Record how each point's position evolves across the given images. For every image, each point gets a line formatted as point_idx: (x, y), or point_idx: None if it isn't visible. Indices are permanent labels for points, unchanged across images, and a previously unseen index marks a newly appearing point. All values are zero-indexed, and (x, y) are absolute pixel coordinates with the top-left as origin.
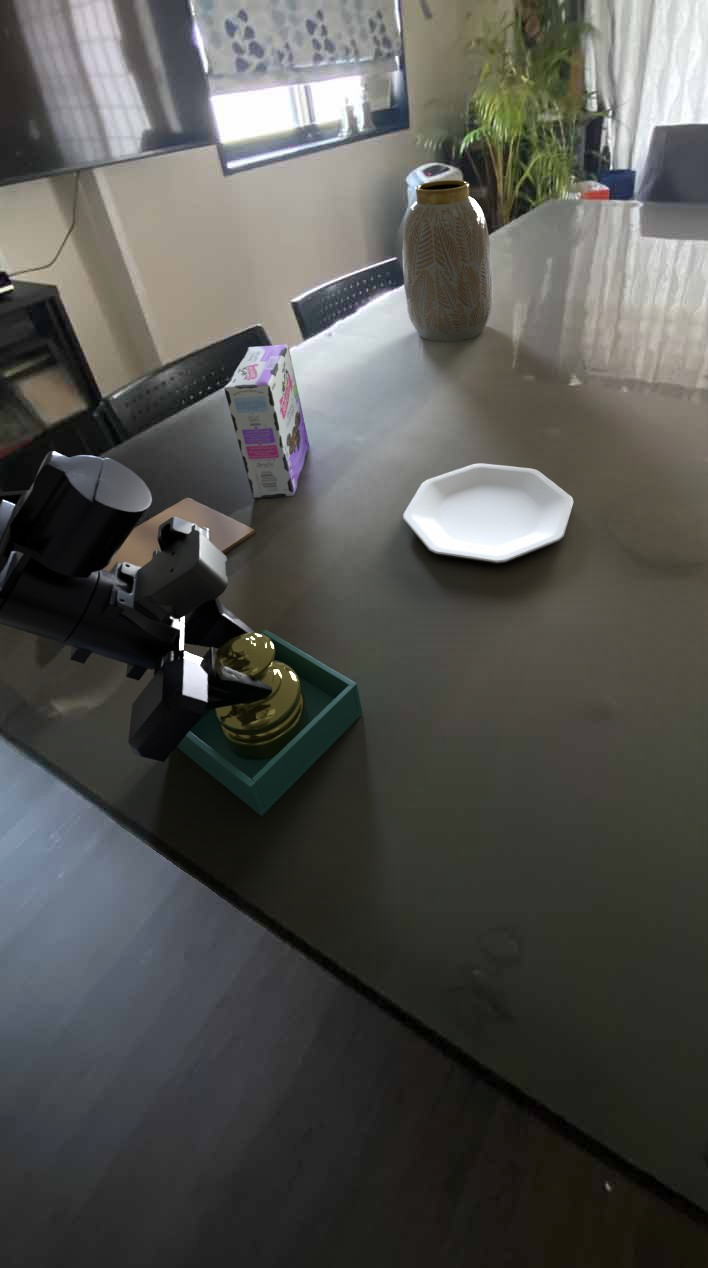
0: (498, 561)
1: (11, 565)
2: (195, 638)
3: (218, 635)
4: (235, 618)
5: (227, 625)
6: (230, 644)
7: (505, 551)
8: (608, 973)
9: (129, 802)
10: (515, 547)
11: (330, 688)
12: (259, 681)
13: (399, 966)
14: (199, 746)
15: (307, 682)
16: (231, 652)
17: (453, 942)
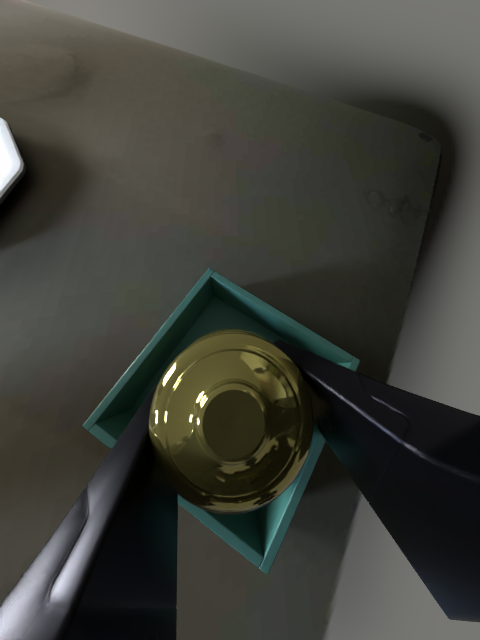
0: (21, 169)
1: None
2: None
3: (153, 540)
4: (88, 500)
5: (125, 523)
6: (211, 469)
7: (5, 163)
8: (373, 158)
9: (337, 532)
10: (2, 155)
11: (194, 316)
12: (289, 355)
13: (401, 247)
14: (318, 457)
15: (173, 352)
16: (262, 447)
17: (380, 220)
